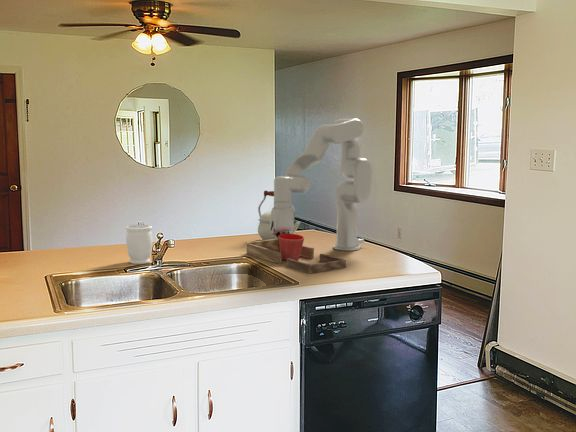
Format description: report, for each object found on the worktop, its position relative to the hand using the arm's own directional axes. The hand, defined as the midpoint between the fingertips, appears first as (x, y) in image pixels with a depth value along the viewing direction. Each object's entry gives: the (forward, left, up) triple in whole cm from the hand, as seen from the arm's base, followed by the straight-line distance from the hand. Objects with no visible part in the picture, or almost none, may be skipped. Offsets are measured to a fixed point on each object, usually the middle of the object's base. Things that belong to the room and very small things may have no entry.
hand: (281, 247), depth 257 cm
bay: (0, +23, -4) cm, 23 cm away
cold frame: (0, -2, -4) cm, 5 cm away
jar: (+55, -24, -5) cm, 60 cm away
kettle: (-20, -30, -5) cm, 37 cm away
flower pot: (0, +6, -4) cm, 7 cm away
